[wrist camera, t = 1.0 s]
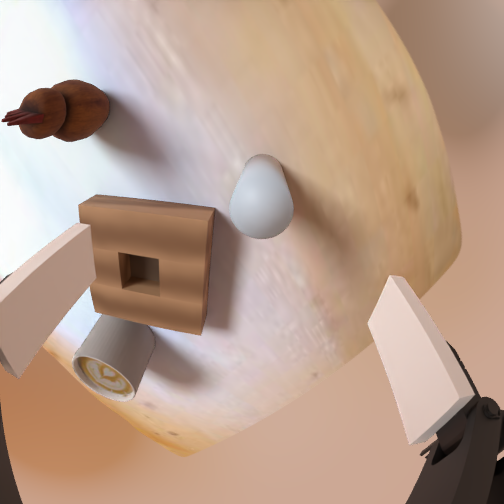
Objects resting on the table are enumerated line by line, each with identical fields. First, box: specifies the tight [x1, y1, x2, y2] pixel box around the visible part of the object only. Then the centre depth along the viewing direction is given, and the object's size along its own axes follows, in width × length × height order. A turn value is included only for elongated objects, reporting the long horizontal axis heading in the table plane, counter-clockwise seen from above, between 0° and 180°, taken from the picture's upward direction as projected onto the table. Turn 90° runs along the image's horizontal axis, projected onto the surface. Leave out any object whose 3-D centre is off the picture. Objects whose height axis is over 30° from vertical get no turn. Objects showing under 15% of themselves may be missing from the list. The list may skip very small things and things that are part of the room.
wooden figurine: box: [2, 80, 110, 142], centre depth 18 cm, size 7×6×15 cm
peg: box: [229, 154, 294, 239], centre depth 23 cm, size 4×4×12 cm
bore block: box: [78, 195, 215, 335], centre depth 31 cm, size 15×15×4 cm
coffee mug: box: [72, 314, 155, 402], centre depth 35 cm, size 13×10×10 cm
